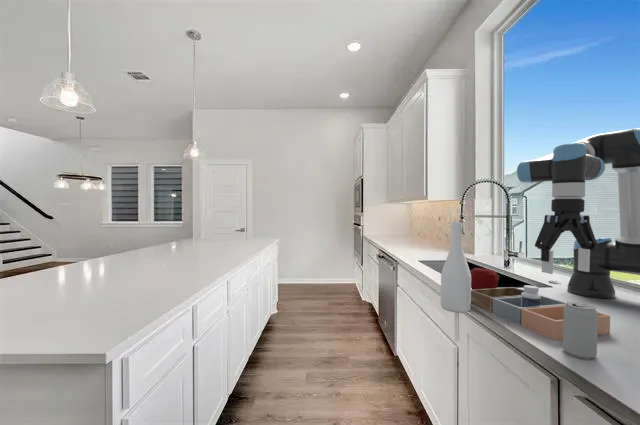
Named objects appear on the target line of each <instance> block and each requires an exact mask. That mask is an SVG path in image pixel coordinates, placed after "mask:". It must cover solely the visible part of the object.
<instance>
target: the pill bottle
mask: <svg viewBox="0 0 640 425" xmlns="http://www.w3.org/2000/svg"><path fill="white" fill-rule="evenodd" d="M523 290H524V292H522V293H521V307H531V306H541V296H540V295H541V294H539V291H540V289H539V287H538V286H535V285H528V284H527V285H525V284H524V285H523Z"/></svg>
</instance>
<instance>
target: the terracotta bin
mask: <svg viewBox="0 0 640 425" xmlns="http://www.w3.org/2000/svg"><path fill="white" fill-rule="evenodd" d="M565 306H566V305H561V306H549V307H538V308H526V309H521V325H520V326H522V327H524V328H525V329H529V330H531V331H533V332H535V333H538V334H540V335H542V336H545V337H548V338H550V339H552V340H554V341H558V340H563V316H564V307H565ZM597 313H598V328H597V336H599V335H600V336H601V335H606V334H607V335H608V334H610V333H611V315H609V314H605V313H603V312H598V311H597Z"/></svg>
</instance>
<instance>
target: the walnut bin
mask: <svg viewBox="0 0 640 425" xmlns="http://www.w3.org/2000/svg"><path fill="white" fill-rule="evenodd" d="M522 292H524V289H521V288H518V287H514V286H510V287H509V286H508V287H497V288H491V289H475V290H472V289H471V305H472V306H474V307H476V308H478V309H481V310H483V311H486V312H488V313H490V314H493V298H505V297H519V296H521V293H522Z"/></svg>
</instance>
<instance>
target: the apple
mask: <svg viewBox="0 0 640 425" xmlns="http://www.w3.org/2000/svg"><path fill="white" fill-rule="evenodd" d="M470 273H471V290H475V289H491V288H498V284H499V281H500V278H499V275H498V273H497V272H495V270H493V269H489V268H484V266H482V268H481V267H474V268H472V269H471V270H470Z"/></svg>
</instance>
